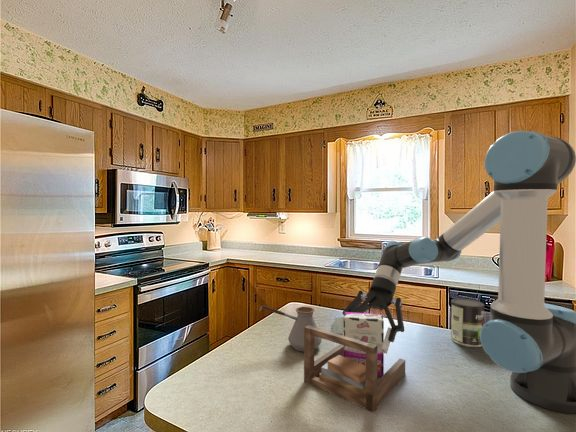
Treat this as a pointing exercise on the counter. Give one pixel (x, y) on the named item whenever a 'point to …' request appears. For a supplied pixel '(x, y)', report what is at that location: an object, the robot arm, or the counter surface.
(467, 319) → the coffee can
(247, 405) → the counter surface
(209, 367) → the counter surface
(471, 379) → the counter surface
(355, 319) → the candy bar box
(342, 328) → the stone slab
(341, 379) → the offcut stack
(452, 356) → the counter surface
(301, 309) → the coffee pot
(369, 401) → the offcut rack
